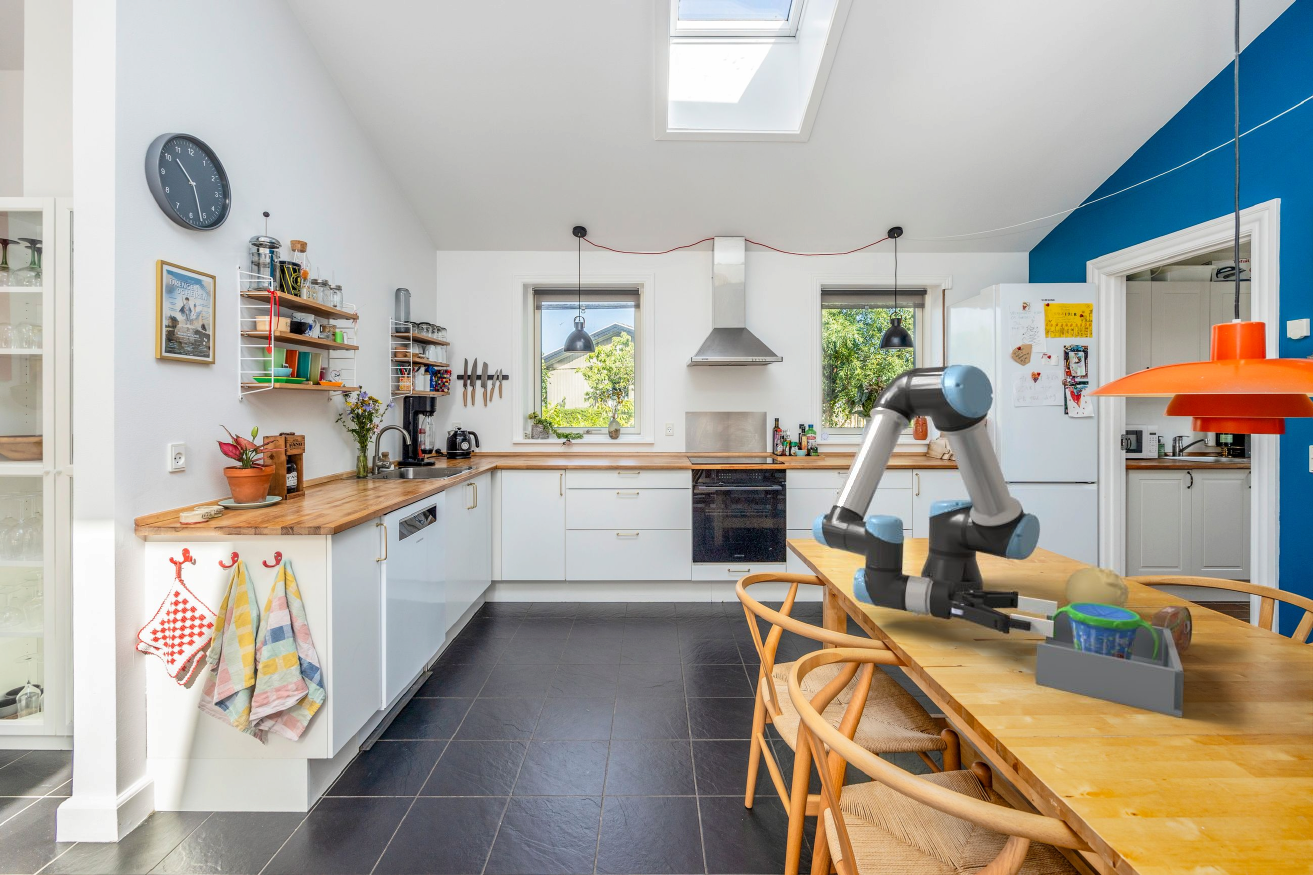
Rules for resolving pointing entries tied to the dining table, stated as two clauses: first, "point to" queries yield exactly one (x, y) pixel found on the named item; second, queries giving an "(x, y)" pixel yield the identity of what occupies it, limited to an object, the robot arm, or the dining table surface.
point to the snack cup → (1104, 629)
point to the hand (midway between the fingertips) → (1055, 618)
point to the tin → (1175, 625)
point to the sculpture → (1097, 587)
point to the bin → (1114, 670)
